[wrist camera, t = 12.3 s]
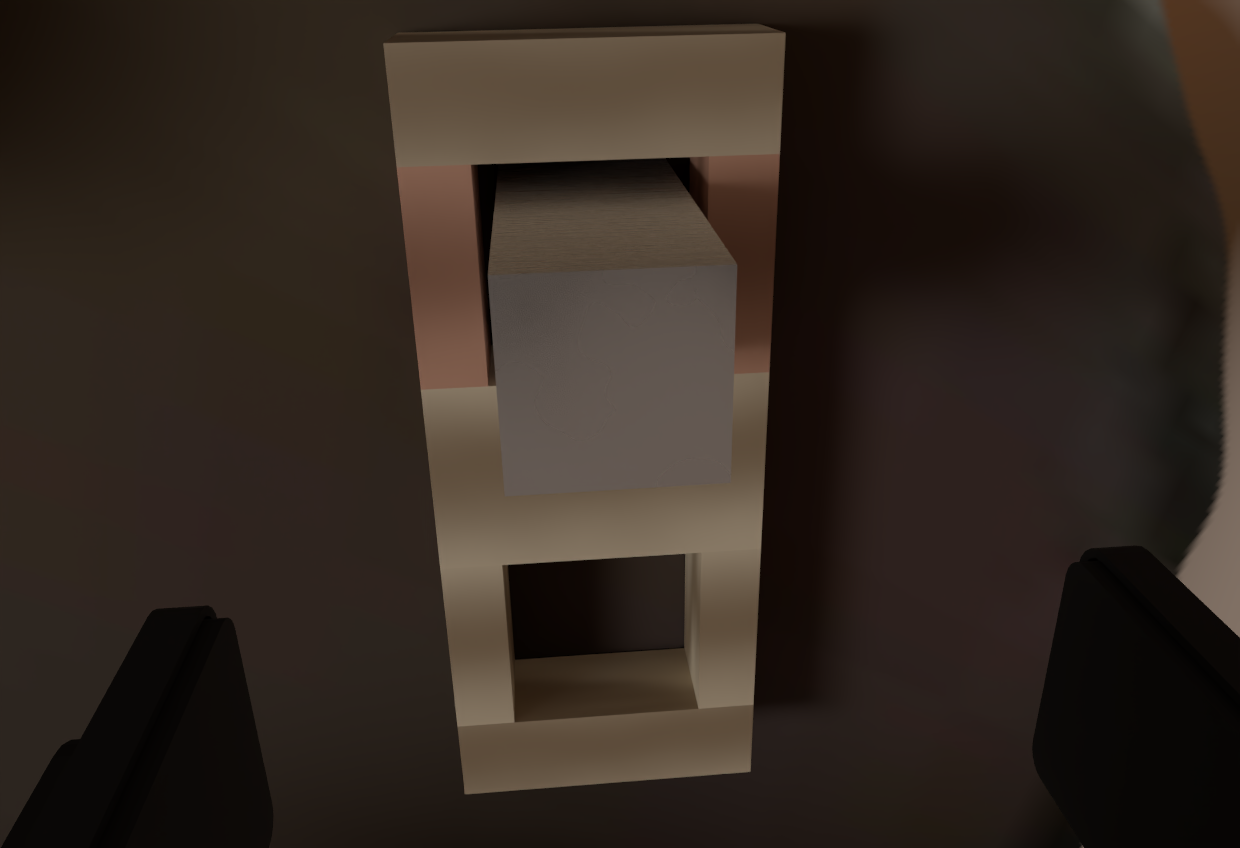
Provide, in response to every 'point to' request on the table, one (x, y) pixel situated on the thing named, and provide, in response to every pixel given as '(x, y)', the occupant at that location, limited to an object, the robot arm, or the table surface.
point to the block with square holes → (467, 397)
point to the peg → (609, 329)
